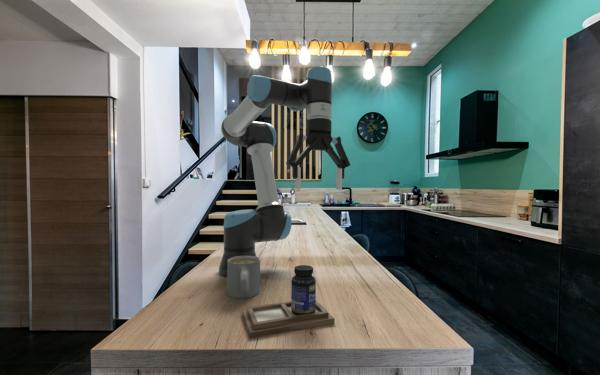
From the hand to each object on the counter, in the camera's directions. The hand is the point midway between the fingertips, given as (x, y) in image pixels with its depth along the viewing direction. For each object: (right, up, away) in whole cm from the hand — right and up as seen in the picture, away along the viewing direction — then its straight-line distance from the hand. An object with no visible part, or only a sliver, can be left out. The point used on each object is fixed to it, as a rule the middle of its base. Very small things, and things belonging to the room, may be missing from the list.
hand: (318, 189), depth 86 cm
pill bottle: (-5, -31, -16) cm, 35 cm away
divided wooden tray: (-9, -32, -17) cm, 37 cm away
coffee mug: (-23, -32, -1) cm, 39 cm away
